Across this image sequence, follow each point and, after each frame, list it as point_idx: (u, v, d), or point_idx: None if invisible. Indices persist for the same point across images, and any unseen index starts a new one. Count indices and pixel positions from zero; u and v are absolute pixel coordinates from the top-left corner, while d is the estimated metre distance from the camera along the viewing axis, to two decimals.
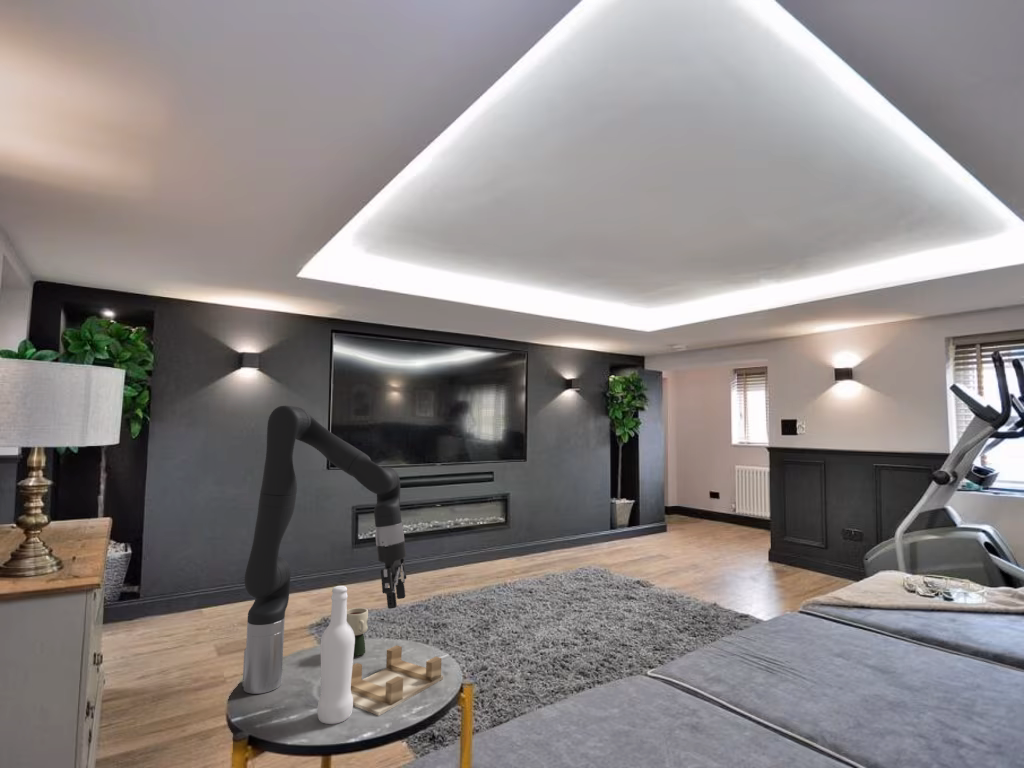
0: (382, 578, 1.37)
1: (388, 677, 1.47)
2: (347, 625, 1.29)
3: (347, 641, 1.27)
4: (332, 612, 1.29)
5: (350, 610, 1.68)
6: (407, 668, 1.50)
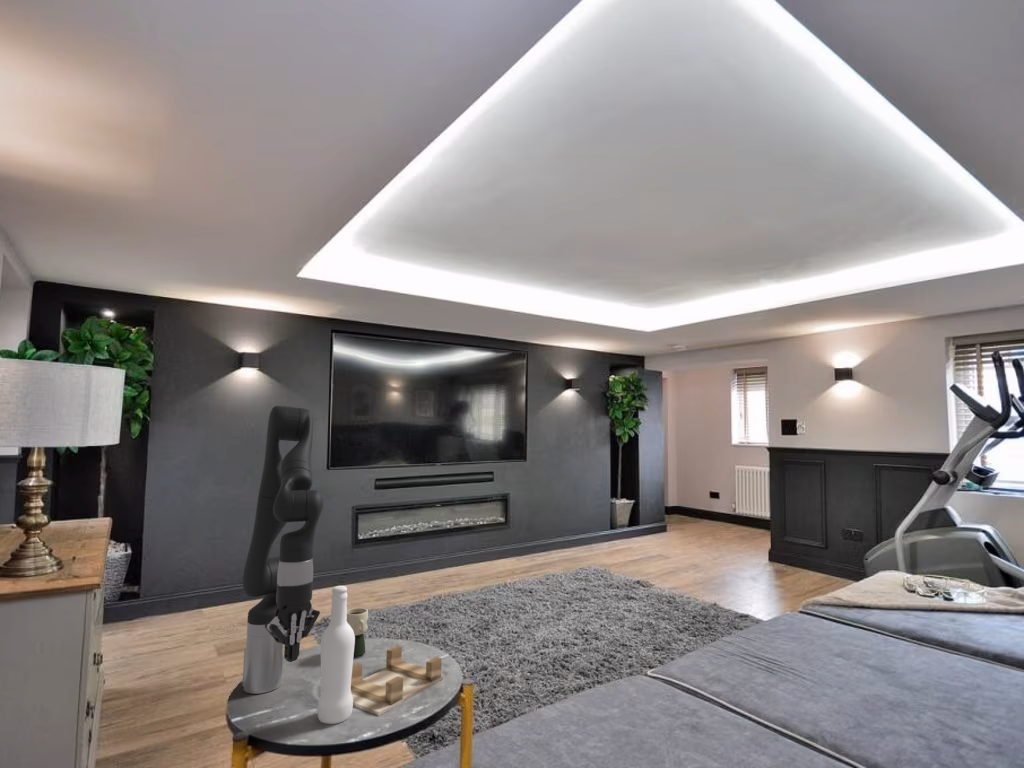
0: (269, 632, 1.16)
1: (388, 677, 1.47)
2: (347, 625, 1.29)
3: (347, 641, 1.27)
4: (332, 612, 1.29)
5: (350, 610, 1.68)
6: (407, 668, 1.50)
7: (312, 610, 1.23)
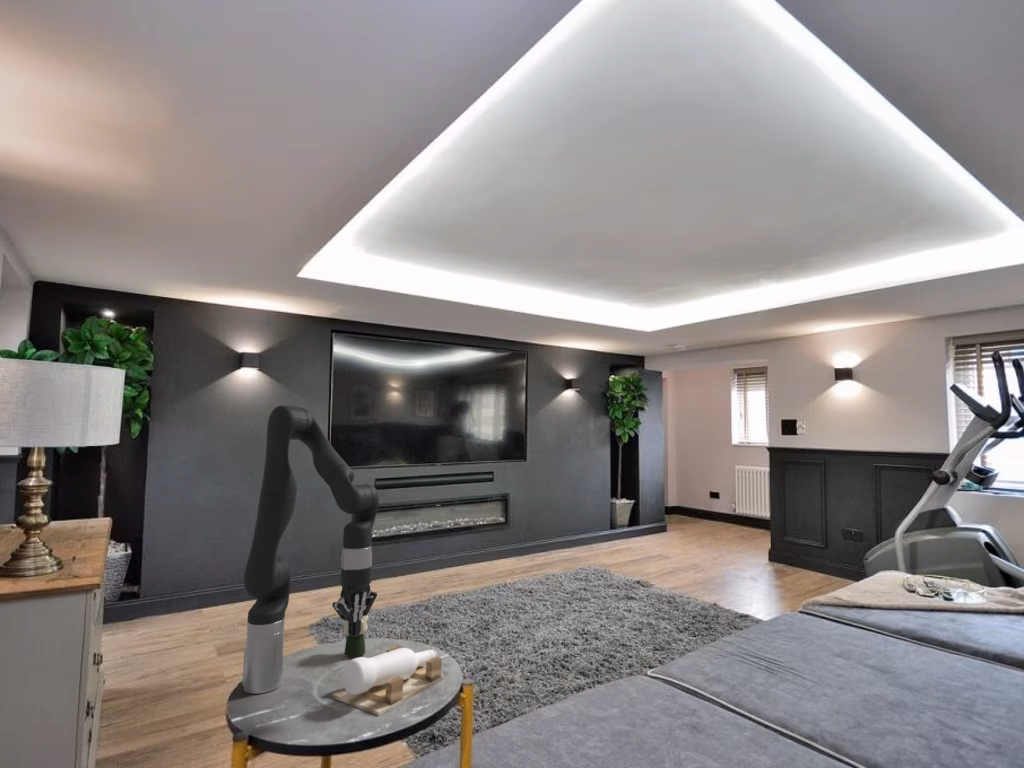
0: (336, 611, 1.31)
1: None
2: (417, 666, 1.48)
3: (414, 666, 1.45)
4: (420, 652, 1.52)
5: None
6: None
7: (370, 592, 1.38)
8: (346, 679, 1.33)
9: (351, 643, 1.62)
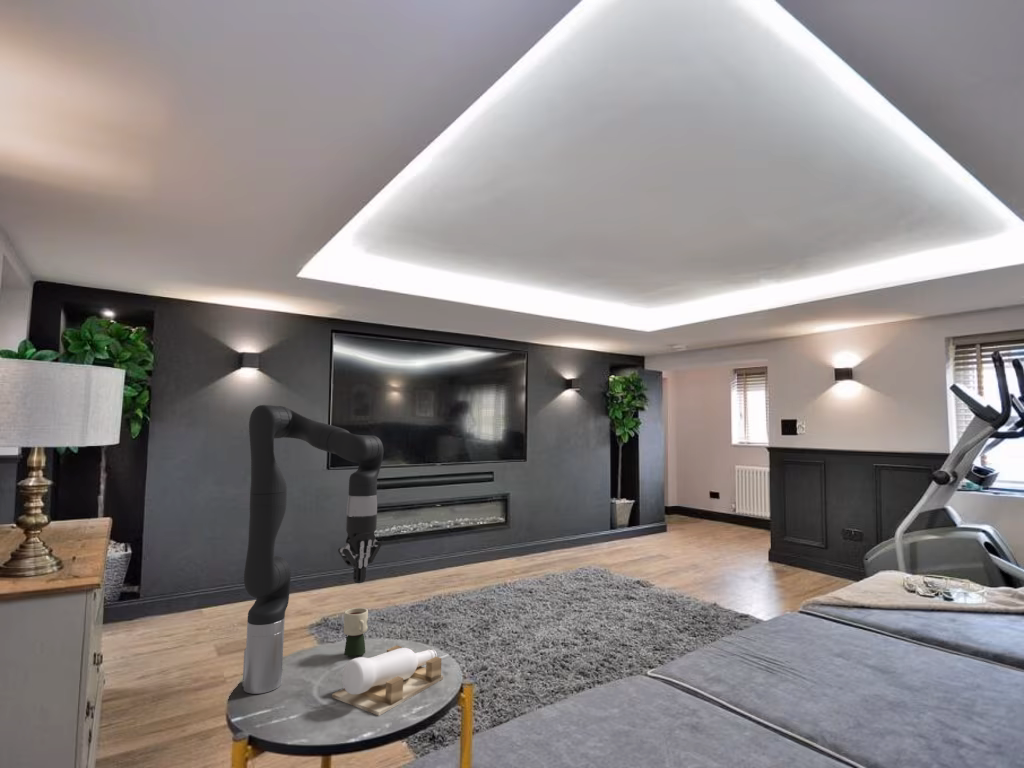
0: (342, 556, 1.33)
1: None
2: (417, 666, 1.48)
3: (414, 666, 1.45)
4: (420, 652, 1.52)
5: (350, 610, 1.68)
6: None
7: (375, 541, 1.40)
8: (346, 679, 1.33)
9: (351, 643, 1.62)
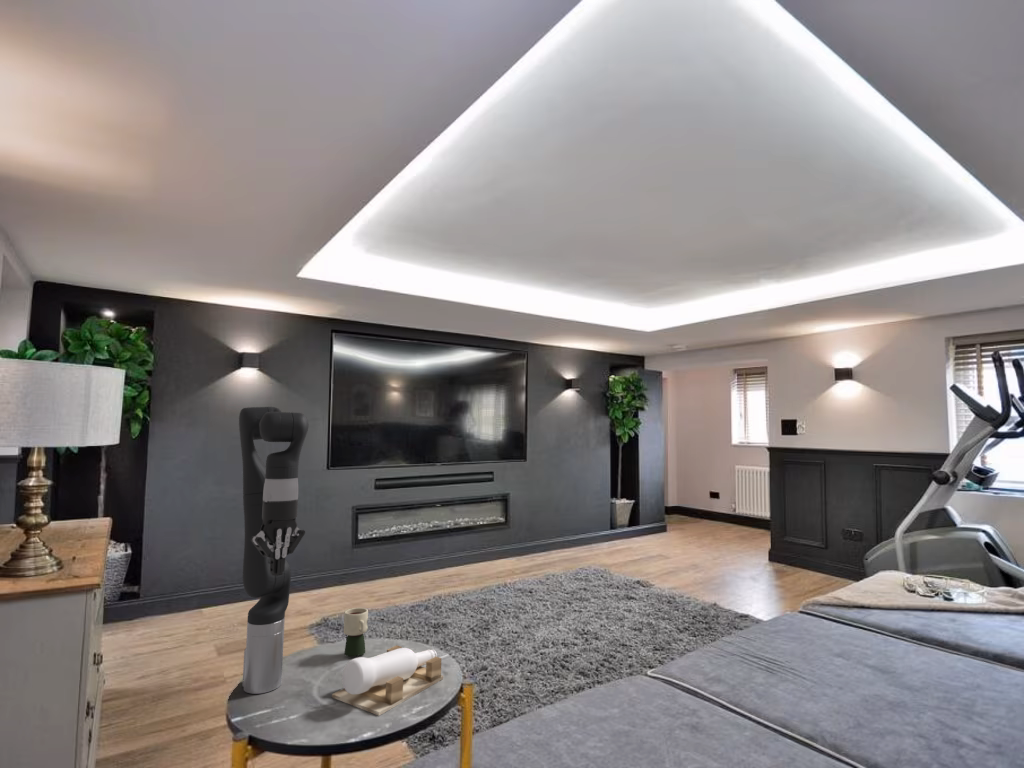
0: (255, 546, 1.19)
1: None
2: (417, 666, 1.48)
3: (414, 666, 1.45)
4: (420, 652, 1.52)
5: (350, 610, 1.68)
6: None
7: (297, 529, 1.27)
8: (346, 679, 1.33)
9: (351, 643, 1.62)
